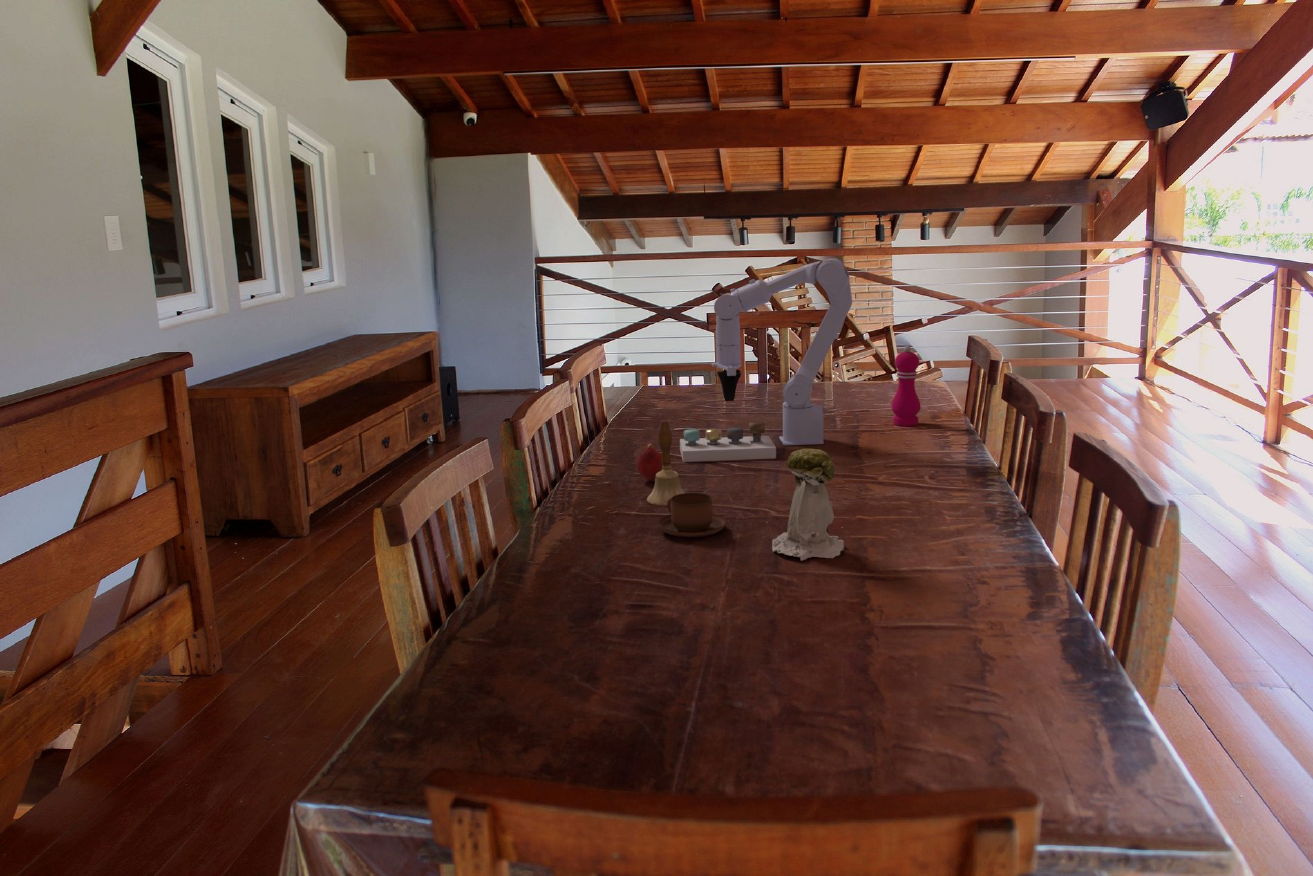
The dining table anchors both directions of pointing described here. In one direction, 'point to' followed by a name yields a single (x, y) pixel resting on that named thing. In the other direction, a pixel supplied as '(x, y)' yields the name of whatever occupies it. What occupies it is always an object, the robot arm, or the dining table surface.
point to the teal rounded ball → (691, 436)
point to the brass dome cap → (713, 436)
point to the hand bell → (665, 471)
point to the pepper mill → (906, 389)
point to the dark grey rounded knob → (735, 435)
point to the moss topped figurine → (809, 508)
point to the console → (728, 450)
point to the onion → (649, 463)
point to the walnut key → (756, 430)
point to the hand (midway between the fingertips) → (729, 400)
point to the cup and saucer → (691, 516)
